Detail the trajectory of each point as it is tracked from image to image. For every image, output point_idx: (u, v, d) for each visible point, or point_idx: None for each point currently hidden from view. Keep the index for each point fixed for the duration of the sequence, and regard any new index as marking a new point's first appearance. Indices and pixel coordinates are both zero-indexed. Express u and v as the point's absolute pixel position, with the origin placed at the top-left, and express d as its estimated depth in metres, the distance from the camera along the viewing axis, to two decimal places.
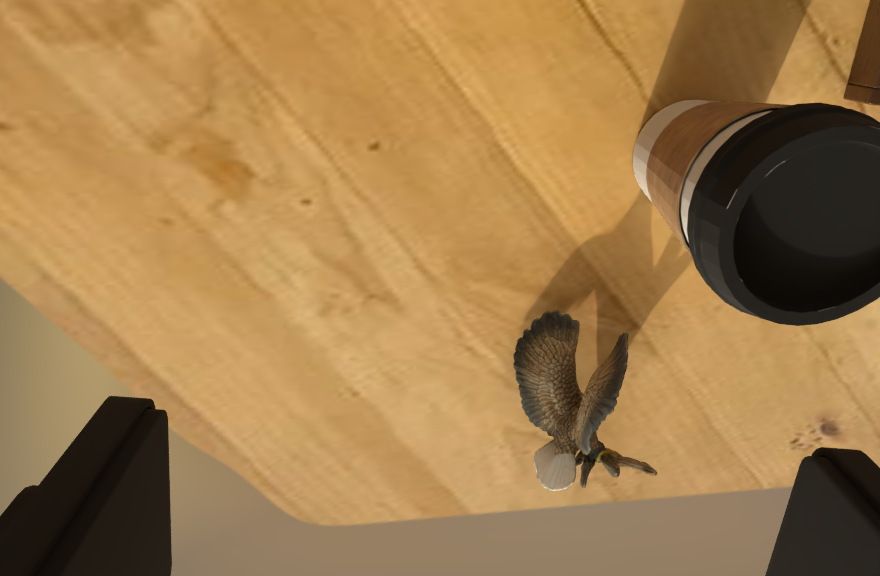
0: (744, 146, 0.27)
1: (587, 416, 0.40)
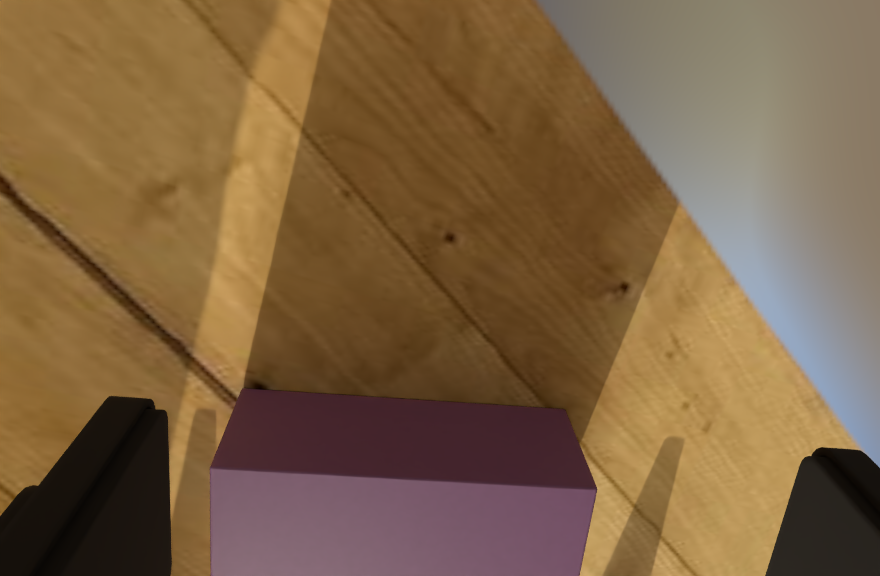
0: None
1: None
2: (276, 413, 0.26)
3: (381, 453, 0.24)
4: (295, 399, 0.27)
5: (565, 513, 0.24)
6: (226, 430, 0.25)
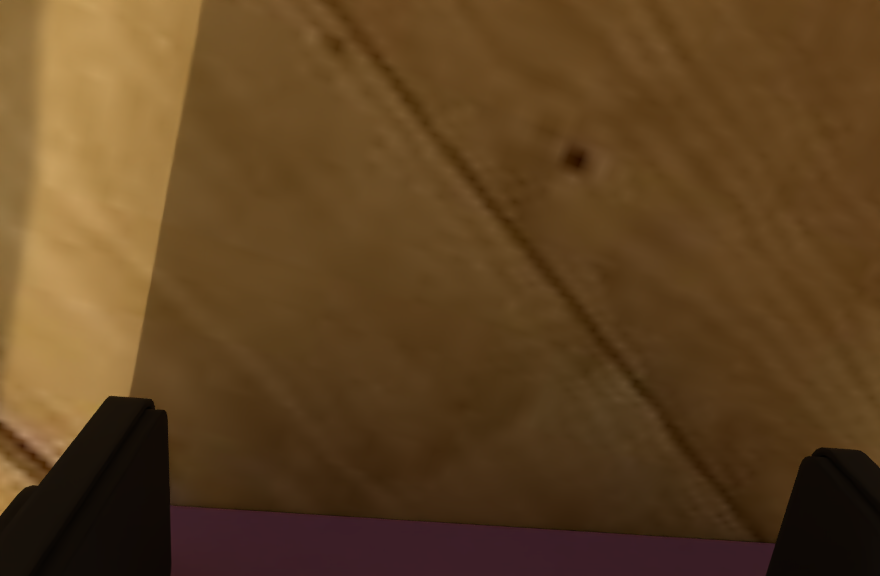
0: None
1: None
2: None
3: None
4: (220, 531, 0.12)
5: None
6: None
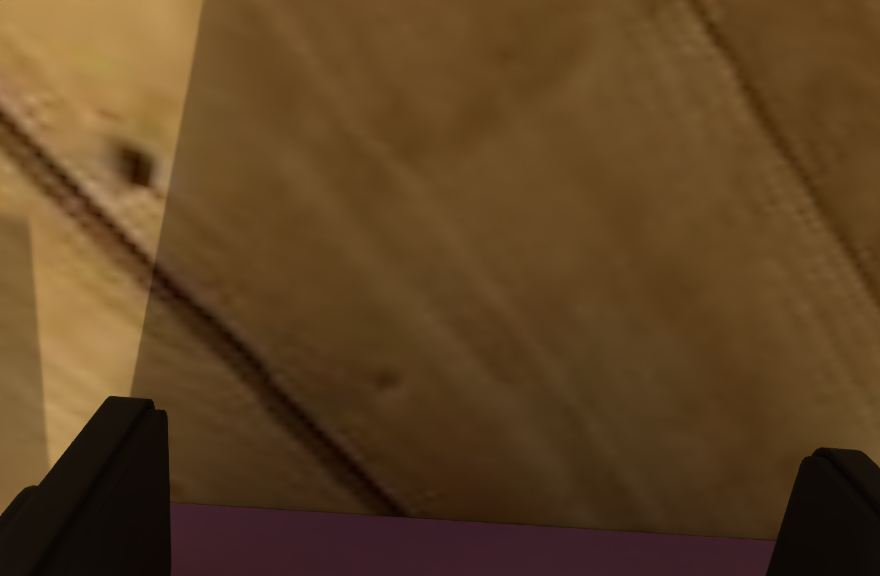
0: None
1: None
2: None
3: None
4: (221, 528, 0.12)
5: None
6: None
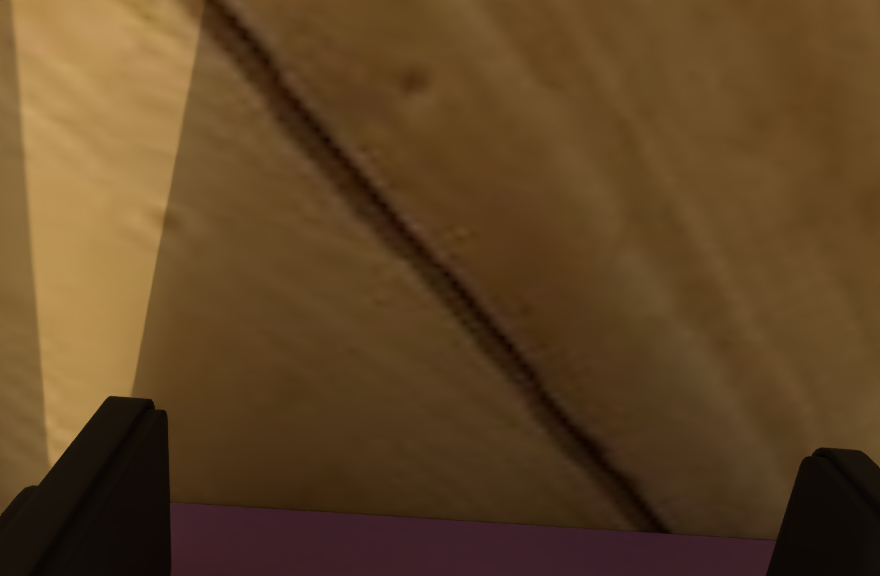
0: None
1: None
2: (171, 568, 0.11)
3: None
4: (221, 528, 0.12)
5: None
6: None
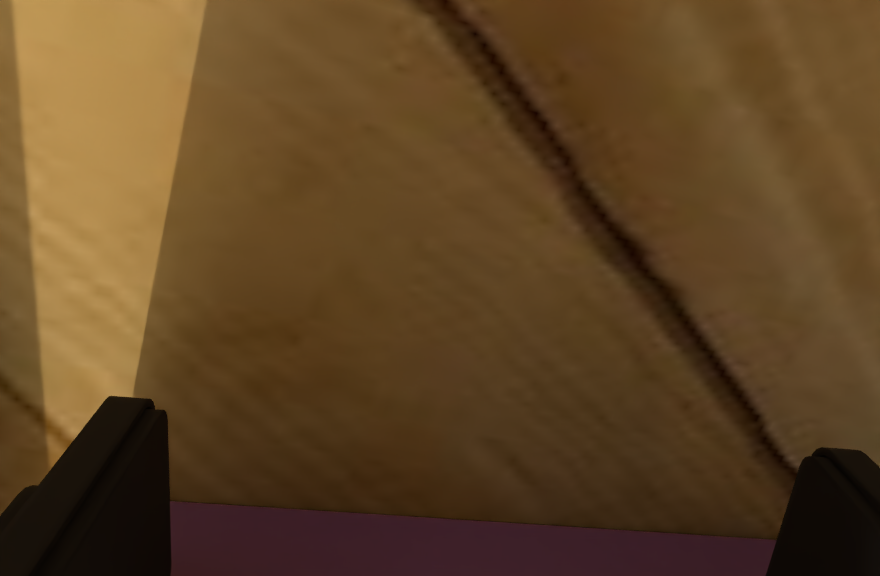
0: None
1: None
2: (172, 567, 0.11)
3: None
4: (223, 527, 0.12)
5: None
6: None
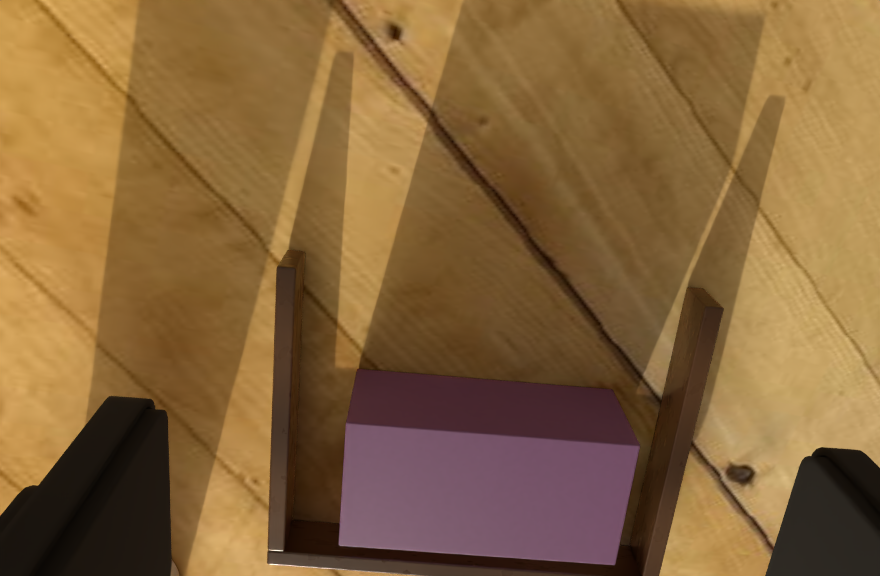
0: None
1: None
2: (387, 386, 0.33)
3: (471, 416, 0.32)
4: (400, 377, 0.34)
5: (615, 465, 0.31)
6: (352, 397, 0.32)
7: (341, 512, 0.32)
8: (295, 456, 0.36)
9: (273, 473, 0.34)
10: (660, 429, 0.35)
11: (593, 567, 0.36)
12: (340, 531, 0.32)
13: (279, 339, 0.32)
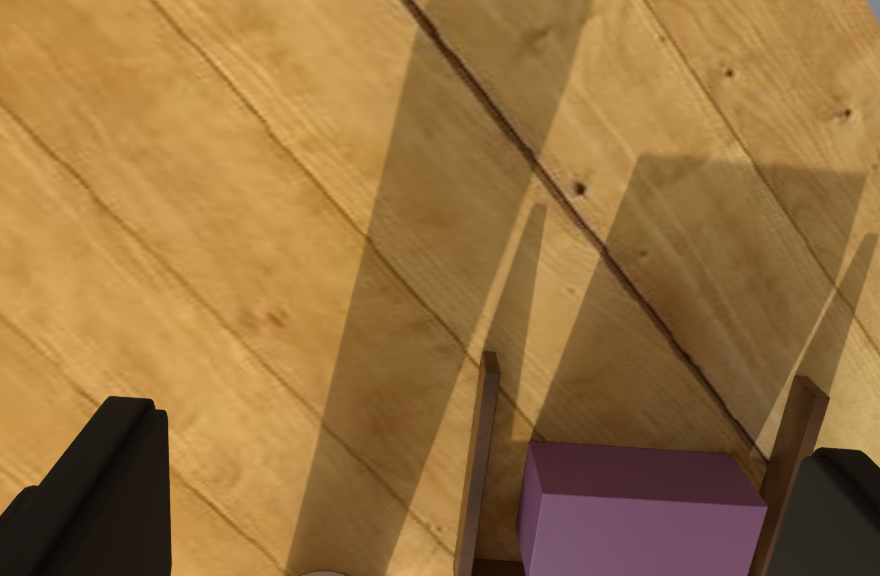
0: None
1: None
2: (559, 457, 0.42)
3: (633, 484, 0.40)
4: (565, 448, 0.43)
5: (747, 521, 0.40)
6: (537, 469, 0.41)
7: (532, 560, 0.40)
8: None
9: (467, 526, 0.42)
10: (768, 485, 0.44)
11: None
12: (530, 574, 0.41)
13: (482, 425, 0.40)
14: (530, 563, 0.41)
